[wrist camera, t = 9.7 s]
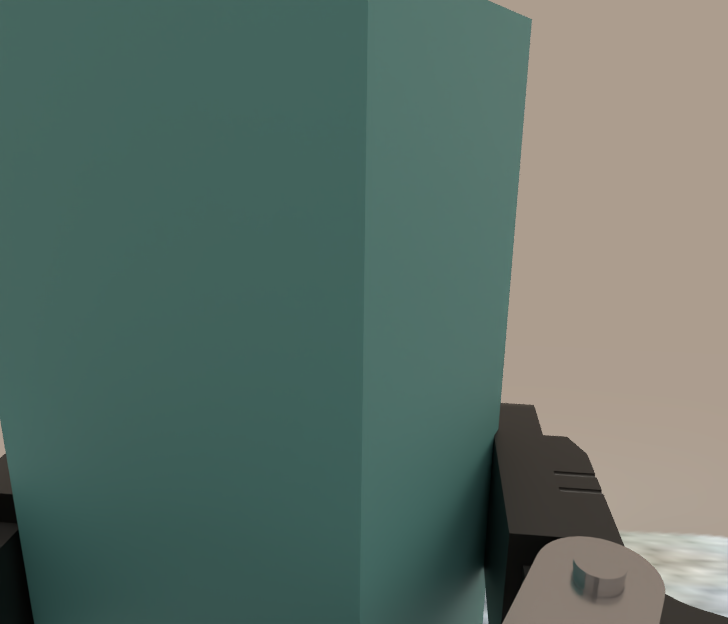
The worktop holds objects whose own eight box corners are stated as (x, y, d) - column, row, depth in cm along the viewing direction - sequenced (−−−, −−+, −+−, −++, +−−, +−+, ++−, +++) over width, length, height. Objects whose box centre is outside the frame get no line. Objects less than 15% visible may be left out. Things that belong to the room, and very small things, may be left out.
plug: (103, 1034, 11) (-73, -15, 6) (262, 790, 14) (228, 29, 10) (350, 1235, 9) (368, -53, 4) (460, 895, 13) (531, 20, 8)
